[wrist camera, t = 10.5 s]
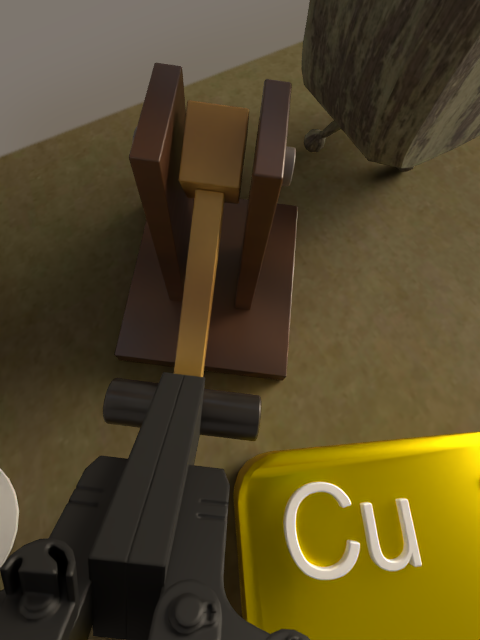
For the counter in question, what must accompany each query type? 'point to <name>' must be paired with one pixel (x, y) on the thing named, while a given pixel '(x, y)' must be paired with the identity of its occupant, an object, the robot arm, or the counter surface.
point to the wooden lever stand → (234, 249)
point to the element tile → (363, 539)
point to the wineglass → (7, 516)
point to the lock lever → (200, 272)
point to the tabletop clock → (395, 75)
